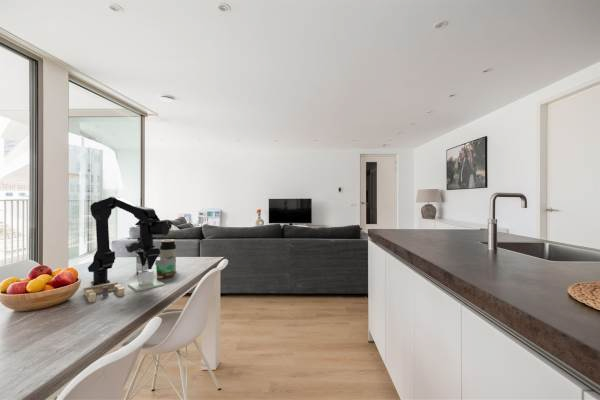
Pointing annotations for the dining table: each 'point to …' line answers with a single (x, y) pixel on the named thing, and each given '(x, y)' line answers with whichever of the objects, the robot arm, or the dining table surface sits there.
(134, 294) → the dining table surface
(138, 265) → the syrup box
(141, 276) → the steel collar
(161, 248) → the travel mug
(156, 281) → the board
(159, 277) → the food container
